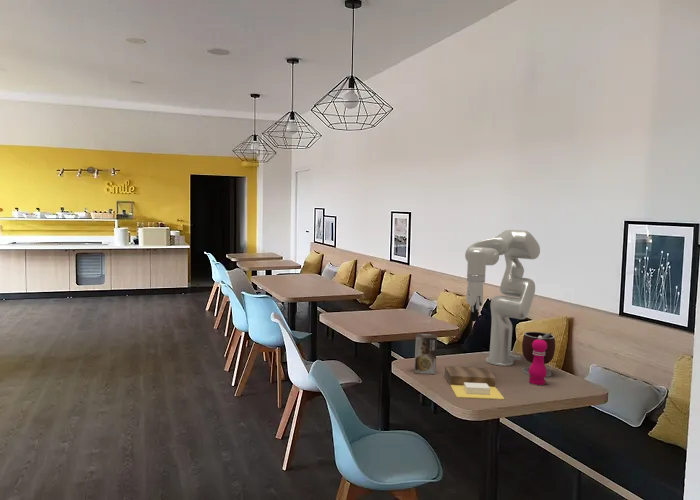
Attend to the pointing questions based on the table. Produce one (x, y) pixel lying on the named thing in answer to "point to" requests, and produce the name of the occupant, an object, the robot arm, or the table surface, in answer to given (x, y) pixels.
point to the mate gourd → (528, 349)
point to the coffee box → (425, 353)
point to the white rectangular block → (476, 388)
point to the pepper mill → (538, 362)
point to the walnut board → (469, 375)
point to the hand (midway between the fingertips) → (474, 320)
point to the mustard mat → (462, 394)
